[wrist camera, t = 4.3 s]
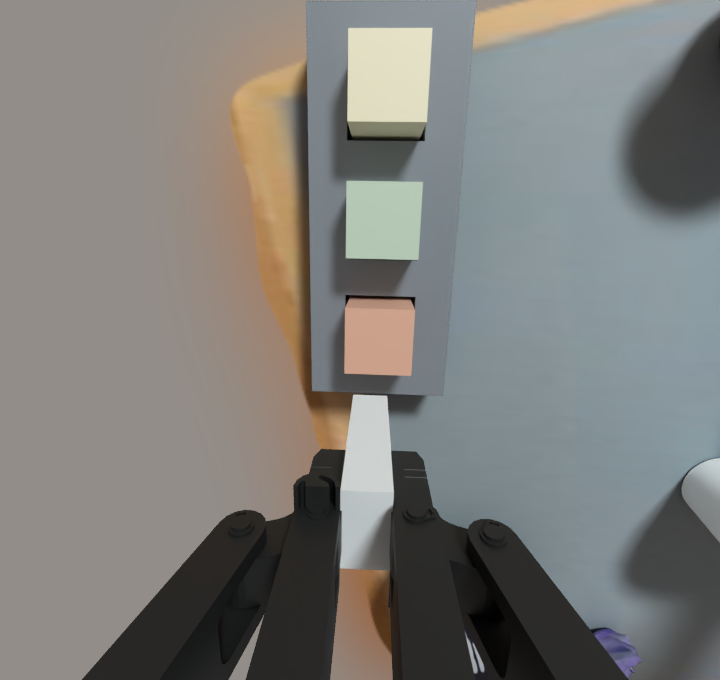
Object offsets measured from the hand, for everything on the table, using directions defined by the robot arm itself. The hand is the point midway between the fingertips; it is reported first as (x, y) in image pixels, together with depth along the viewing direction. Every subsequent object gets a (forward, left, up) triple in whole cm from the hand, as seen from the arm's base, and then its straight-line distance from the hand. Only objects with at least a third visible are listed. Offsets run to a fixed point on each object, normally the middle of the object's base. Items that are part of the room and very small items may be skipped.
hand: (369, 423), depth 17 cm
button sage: (-7, -5, -20) cm, 22 cm away
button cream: (-15, -10, -20) cm, 27 cm away
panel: (-7, -5, -22) cm, 24 cm away
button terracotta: (0, 0, -20) cm, 20 cm away
